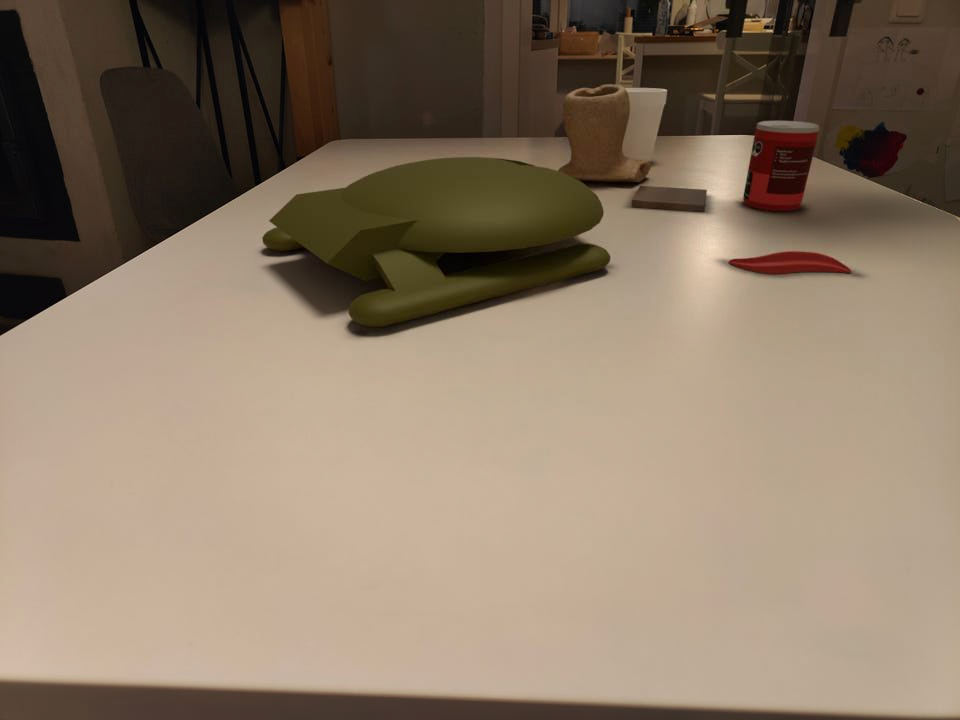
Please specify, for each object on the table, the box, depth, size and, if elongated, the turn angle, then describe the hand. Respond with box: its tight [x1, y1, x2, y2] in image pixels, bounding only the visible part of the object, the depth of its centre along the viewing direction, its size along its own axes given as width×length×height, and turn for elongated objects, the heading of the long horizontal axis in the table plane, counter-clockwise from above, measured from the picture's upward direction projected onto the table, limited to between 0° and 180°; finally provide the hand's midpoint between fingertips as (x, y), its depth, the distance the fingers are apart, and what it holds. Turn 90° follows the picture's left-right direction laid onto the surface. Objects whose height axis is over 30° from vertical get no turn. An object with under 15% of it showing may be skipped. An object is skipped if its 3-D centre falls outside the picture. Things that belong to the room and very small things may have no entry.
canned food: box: [742, 120, 820, 212], centre depth 86 cm, size 8×8×11 cm
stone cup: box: [557, 84, 652, 183], centre depth 101 cm, size 15×12×15 cm
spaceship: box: [261, 156, 611, 328], centre depth 68 cm, size 35×31×10 cm
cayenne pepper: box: [727, 250, 853, 275], centre depth 64 cm, size 12×5×2 cm, turn 67°
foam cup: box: [622, 87, 668, 161], centre depth 116 cm, size 10×9×13 cm
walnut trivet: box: [631, 185, 708, 213], centre depth 91 cm, size 10×10×1 cm
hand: (782, 37), depth 77 cm, fingers open, 13 cm apart
